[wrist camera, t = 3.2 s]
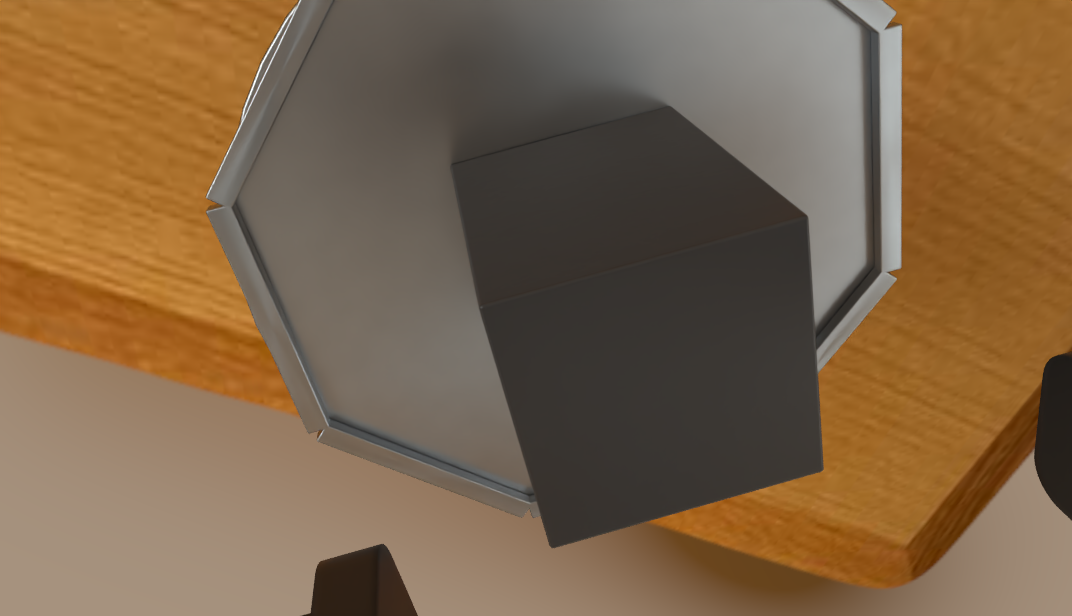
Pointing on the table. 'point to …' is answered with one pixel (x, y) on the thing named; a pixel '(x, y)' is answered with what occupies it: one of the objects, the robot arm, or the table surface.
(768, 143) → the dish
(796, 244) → the block
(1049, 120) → the table surface
